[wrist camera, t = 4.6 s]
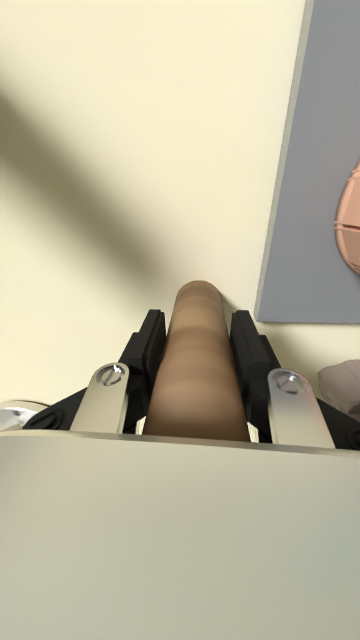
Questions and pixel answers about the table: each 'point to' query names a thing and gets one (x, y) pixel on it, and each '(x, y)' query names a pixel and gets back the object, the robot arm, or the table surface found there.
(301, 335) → the table surface
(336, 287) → the board
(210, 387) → the wooden capsule dowel
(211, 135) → the table surface
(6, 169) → the table surface
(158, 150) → the table surface
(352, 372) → the dental mold
